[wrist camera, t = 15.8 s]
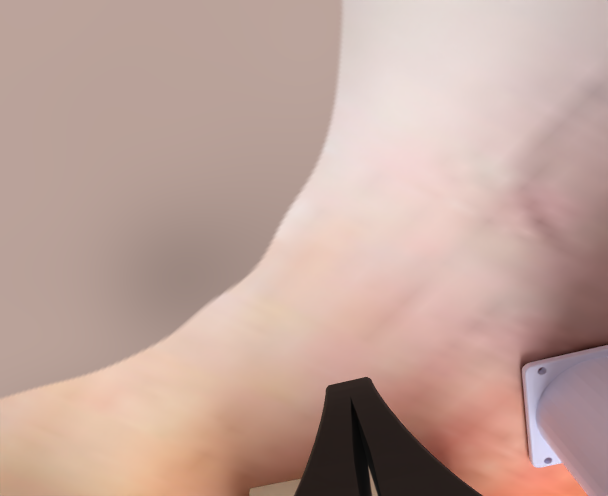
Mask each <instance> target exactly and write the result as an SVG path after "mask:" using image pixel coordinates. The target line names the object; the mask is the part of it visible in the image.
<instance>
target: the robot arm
mask: <svg viewBox="0 0 608 496" xmlns="http://www.w3.org/2000/svg"><path fill="white" fill-rule="evenodd" d="M541 367H542V369H541V370H539V368H541ZM538 370H539V371H538ZM522 378H523V390H524V401H525V413H526V424H527V436H528V447H529V459H530V462H531V463H532V465H533V466H534V467H537V468H540V467H545V466H550V465H555V464H560V463H563V464H564V466H565V467H566V468H567V469H568V471H569V472H570V473H571V475H572V476H573V477H574V478H575V480H576V481H577V482H578V483H579V485H580V486H581V487H582V488H583V490H584V491H585V492H586V494H587V495H588V496H608V345H605V346H601V347H596V348H592V349H587V350H583V351H578V352H574V353H570V354H565V355H561V356H556V357H552V358H547V359H543V360H538V361H534V362H530V363H527V364H526V365H524V366H523V368H522ZM368 466H369V468H368ZM369 470H370V473H371V476H372V479H373V482H374V485H375V488H376V491H377V495H378V496H482V495H481V494H479V493H478V492H477V491H475V490H474V489H473V488H471V487H470V486H469V485H467V484H466V483H465V482H463V481H462V480H461V479H459V478H458V477H457V476H456V475H455V474H453V473H452V472H451V471H450V470H449V469H448V468H446V467H445V466H444V465H443V464H442V463H441V462H440V461H438V460H437V459H436V458H435V457H434V456H433V455H432V454H431V453H430V452H429V451H428V450H427V449H426V448H425V447H424V446H423V445H421V444H420V443H419V441H418V440H417V439H416V438H415V437H414V436H413V435H412V434H411V433H410V432H409V431H408V430H407V429H406V428H405V426H404V425H403V424H402V423H401V422H400V421H399V419H398V418H397V417H396V416H395V415H394V413H393V412H392V411H391V410H390V408H389V407H388V406H387V404H386V403H385V402H384V400H383V399H382V397H381V396H380V394H379V393H378V391H377V390H376V388H375V386H374V385H373V383H372V380H371V379H370V378H368V377H364V378H360V379H355V380H351V381H346V382H342V383H338V384H333V385H329V386H328V387H327V389H326V395H325V402H324V408H323V413H322V417H321V421H320V425H319V429H318V432H317V436H316V439H315V443H314V446H313V449H312V451H311V454H310V457H309V460H308V463H307V466H306V468H305V471H304V473H303V476H302V478H301V481H300V483H299V485H298V487H297V490H296V492H295V494H294V496H372V491H371V483H370V475H369Z"/></svg>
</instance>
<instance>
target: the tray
mask: <svg viewBox="0 0 608 496" xmlns="http://www.w3.org/2000/svg"><path fill="white" fill-rule="evenodd" d="M368 468H369V466H368ZM369 475H370V483H371V491H372V496H378V495H377V491H376V488H375V485H374V482H373V479H372V476H371V473H370V470H369ZM300 481H301V479H296V480H291V481H286V482H281V483H276V484H271V485H265V486H260V487H255V488H250V492H249V496H294V494H295V492H296V490H297V487H298V485H299V483H300Z"/></svg>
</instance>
